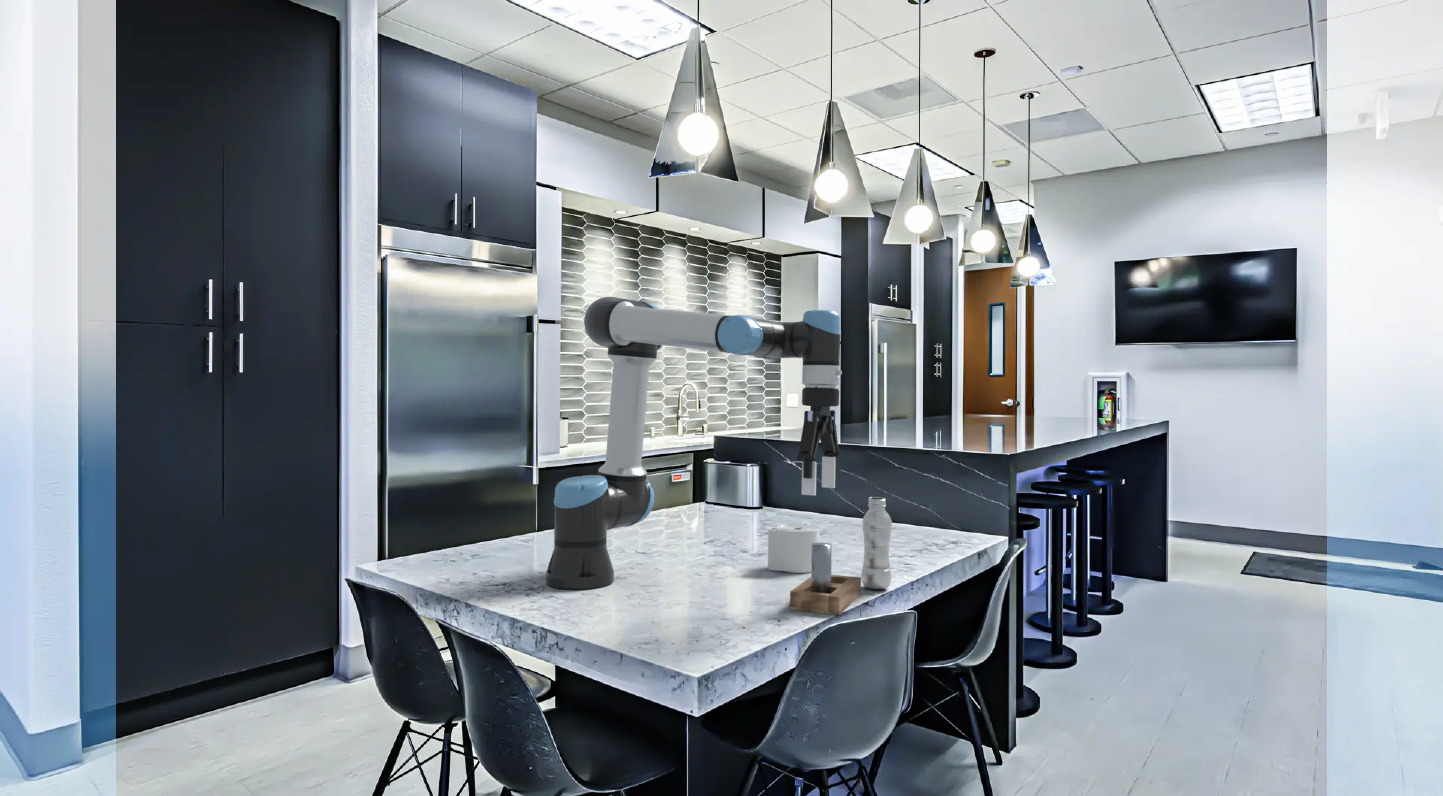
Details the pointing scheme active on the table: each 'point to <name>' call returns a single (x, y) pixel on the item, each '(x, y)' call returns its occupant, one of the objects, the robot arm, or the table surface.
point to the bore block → (826, 595)
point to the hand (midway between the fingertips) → (818, 491)
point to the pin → (821, 568)
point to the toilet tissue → (791, 548)
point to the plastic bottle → (876, 545)
